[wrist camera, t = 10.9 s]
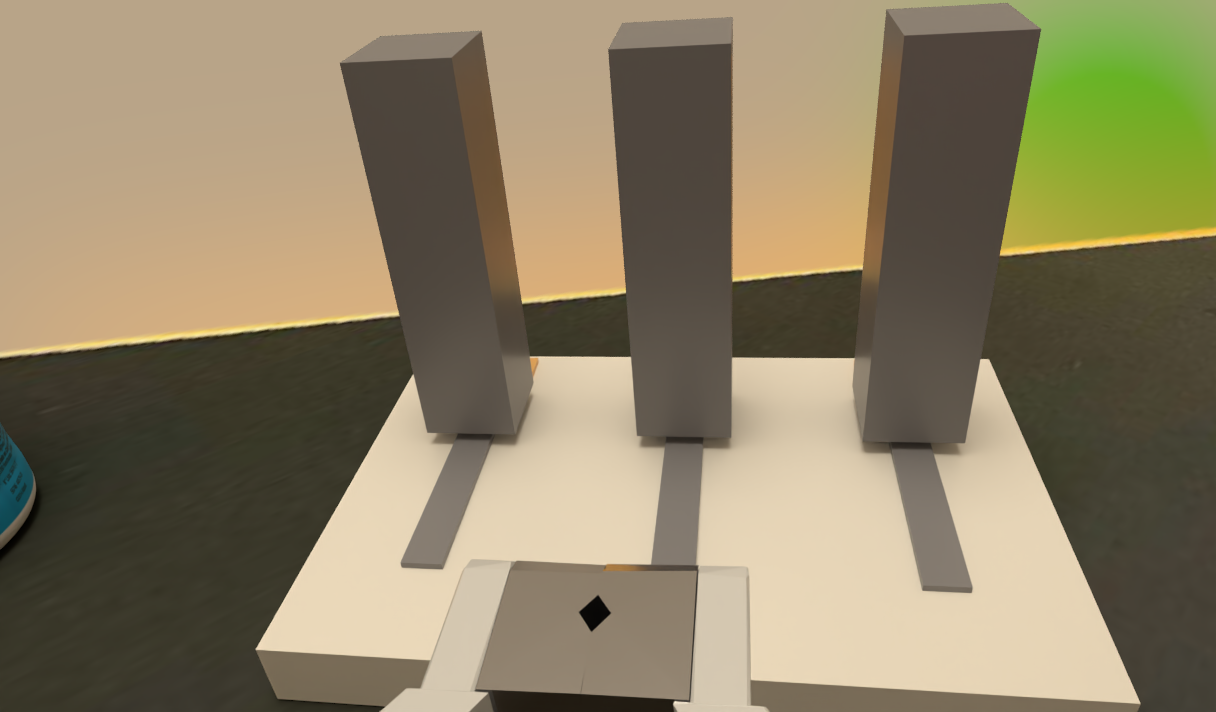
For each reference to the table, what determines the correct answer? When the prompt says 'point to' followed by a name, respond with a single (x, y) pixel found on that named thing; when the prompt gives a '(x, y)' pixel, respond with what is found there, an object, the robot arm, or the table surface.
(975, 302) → the tall grey switch
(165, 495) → the table surface
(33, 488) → the beverage bottle
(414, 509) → the switch bank
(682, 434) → the grey rectangular pillar
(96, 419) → the table surface
